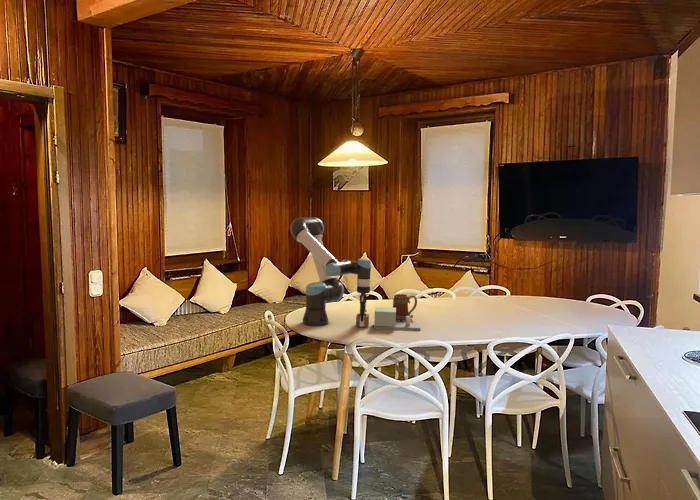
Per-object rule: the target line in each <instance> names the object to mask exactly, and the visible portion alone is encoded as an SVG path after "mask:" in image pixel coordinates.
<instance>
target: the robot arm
mask: <svg viewBox="0 0 700 500" xmlns="http://www.w3.org/2000/svg"><path fill="white" fill-rule="evenodd" d="M289 228H290V229H289V230H290V233H291V235H292V237H293V238H294V240H295V241H296V242H297V243H301V244H302V245H303V246H304V247H305V248H306V249H307V251H309V253H311V257H312V259H313V263H314V266H315V269H316V272H317V276H318V278H319V281H315V282H310V283H308V284H307V285H306V288H305V312H304V315H303V317H302V324H303V325H305V324H306V325H307V326H313V327H317V326H318V327H319V326H325V325H328V324H329V315H328V314H327V310H326V309H327V307H326V306H327V305H326V304H329V303H335V302H337V301H340V300H341V299H342V298H343V296H344V293H345V287H344V285H343V283H341V282H340V281H339V280H338V278H337V276H344V275H351V274H352V275H357V278H356V285H357V287H356V293H358V294H359V313H358V314H359V315H360V326H361V327H360V328H362V327H363V328H365V327H364V319H365V314H366V313H367V311H368V310H366V307H367V304H366V303H367V298H368V295H367V294H369V293H371V282H372V280H371V274H372V273H371V271H372V262H371V259H369V258H358V260H356V261H355V260H350V259H343V260H342V261H338V259H337V258H335V257H334V256H333V254H331V253H330V252H329V251H328V250H327V248H325V246H324V243H323V237H324V235H323V233H324V230H325V225H324V223H323V221H322V220H321V219H320V218H318V217H314V216H310V217H298V218H295V219H294V220H293V221H292V222H291V224H290V227H289Z"/></svg>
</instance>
